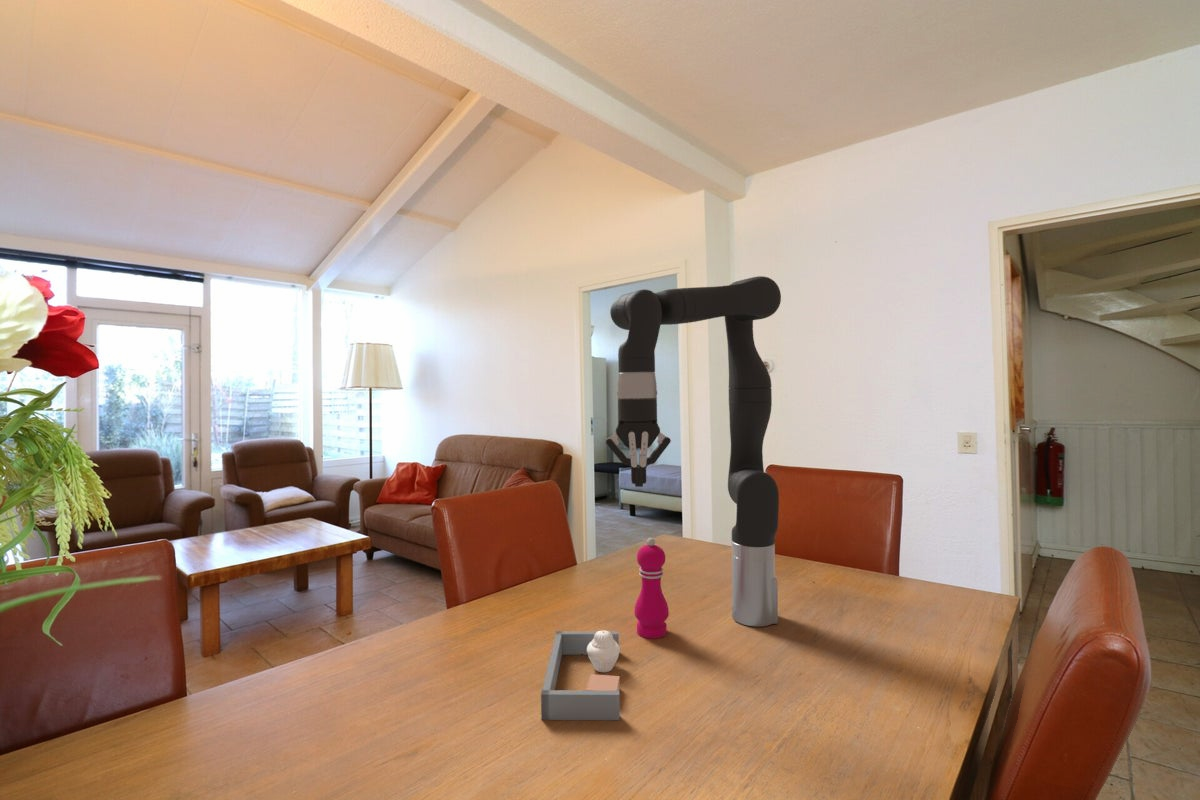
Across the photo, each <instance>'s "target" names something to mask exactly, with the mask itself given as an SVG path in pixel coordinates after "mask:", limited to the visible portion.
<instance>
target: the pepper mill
mask: <svg viewBox="0 0 1200 800" xmlns="http://www.w3.org/2000/svg"><path fill="white" fill-rule="evenodd" d="M636 561H637V564H638V565H639V566H640V567H639V573H638V574H639V576H640V577H641V589H640V593H639V595H638V597H637V599H636V601H635V605H634V612H633V613H634V616H635V618H636V619H637V620H638V621H637V622H636V634H638V635H639V637H642V638H645V639H659V638H663V637H665V636H666V635H667V628H668V627H667V622H666V621H667V619H668V618H669V615H670V612H669V605H668V602H667V600H666V598H665V596H664V594H663V590H662V581H661V580H662V577H663V576H664V568H663V566H664V564H665V562H666V554H665V551H664V550H663V548H662V547H661V546H659V545H657V544H656V540H655V538H653V537H648V539H647V540H646V545H643V546H642V547H640V548H639V550H637V553H636Z"/></svg>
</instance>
